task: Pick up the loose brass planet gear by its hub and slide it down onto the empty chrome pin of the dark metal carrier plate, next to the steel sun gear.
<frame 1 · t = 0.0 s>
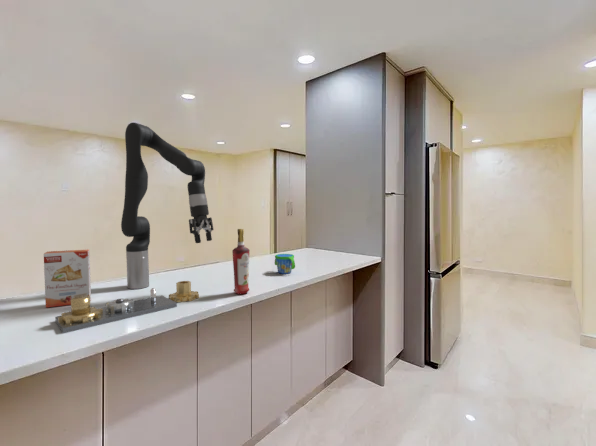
hand: (203, 241, 138), 22 cm above the table, tool pointing down, fingers open, 8 cm apart
snack cup: (284, 273, 179), on the table
cracker box: (69, 304, 124), on the table
liquor: (241, 293, 138), on the table
carrier plate: (120, 313, 112), on the table
planet gear: (184, 297, 131), on the table
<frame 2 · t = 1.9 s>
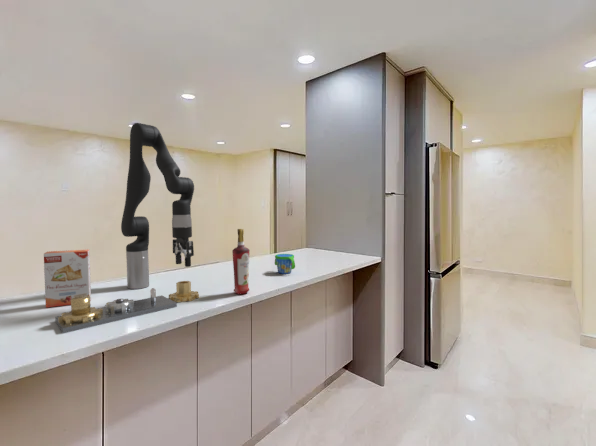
hand: (183, 265, 130), 14 cm above the table, tool pointing down, fingers open, 8 cm apart
nothing on the table moved.
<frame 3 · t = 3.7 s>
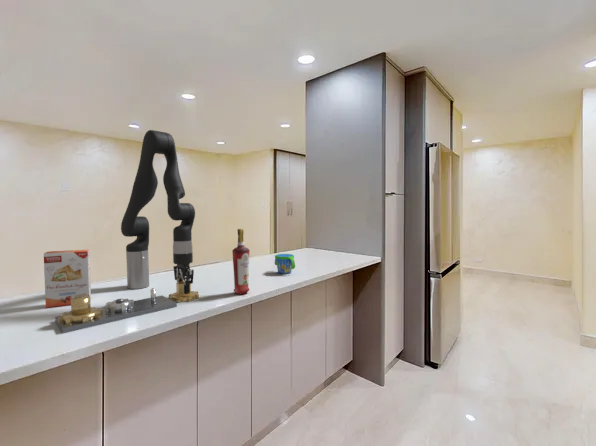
hand: (183, 292, 131), 2 cm above the table, tool pointing down, fingers closed on planet gear, 5 cm apart
planet gear: (184, 297, 131), on the table, touching gripper
everything else where it was.
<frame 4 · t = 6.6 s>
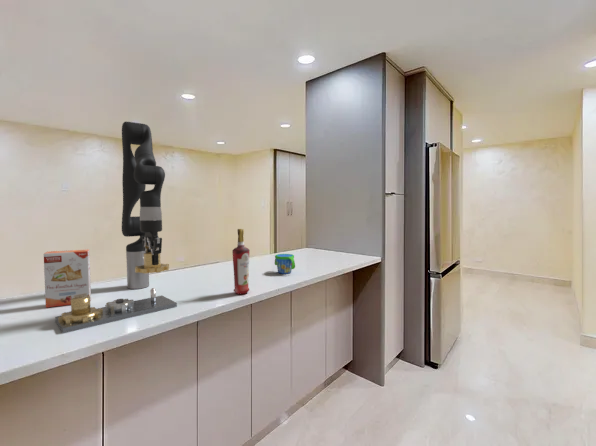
hand: (152, 263, 119), 16 cm above the table, tool pointing down, fingers closed on planet gear, 5 cm apart
planet gear: (152, 270, 119), point 14 cm above the table, touching gripper
everything else where it was.
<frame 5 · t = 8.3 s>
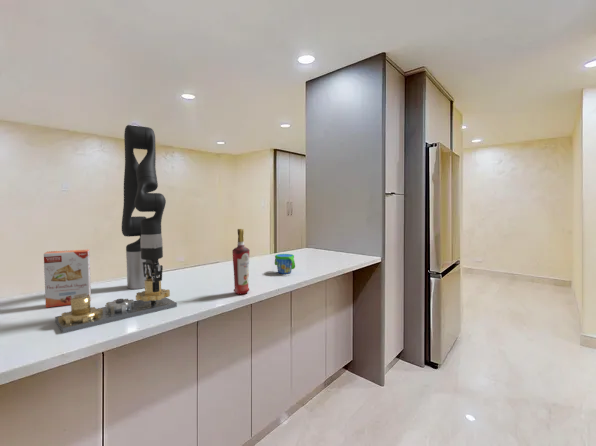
hand: (153, 290, 120), 6 cm above the table, tool pointing down, fingers closed on planet gear, 5 cm apart
planet gear: (153, 296, 120), point 4 cm above the table, touching gripper
everything else where it was.
when the fingers open (5 cm above the table, at t = 9.4 s): planet gear stays where it is, resting on carrier plate.
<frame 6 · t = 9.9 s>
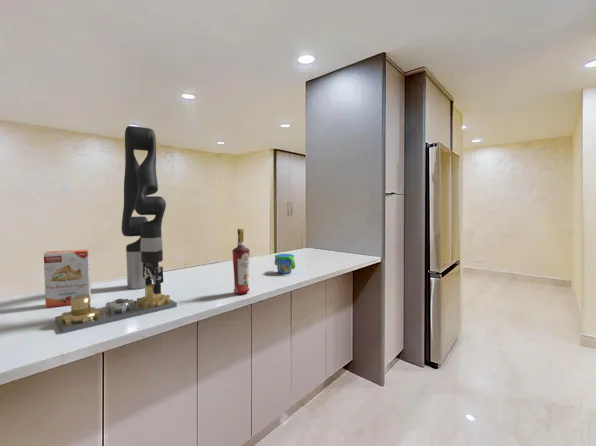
hand: (153, 291, 120), 6 cm above the table, tool pointing down, fingers open, 8 cm apart
planet gear: (153, 302, 120), point 1 cm above the table, touching carrier plate
everything else where it was.
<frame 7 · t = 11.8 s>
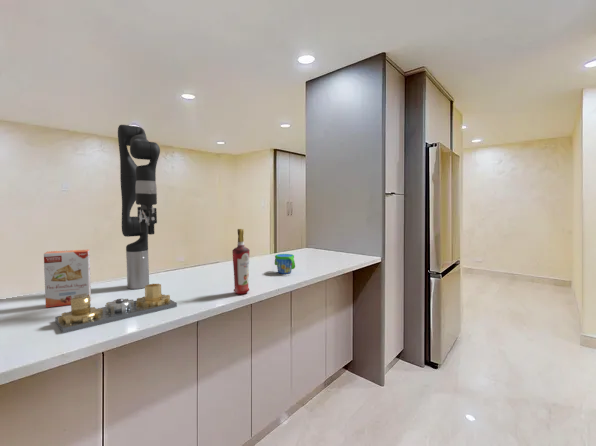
hand: (147, 233, 126), 27 cm above the table, tool pointing down, fingers open, 8 cm apart
nothing on the table moved.
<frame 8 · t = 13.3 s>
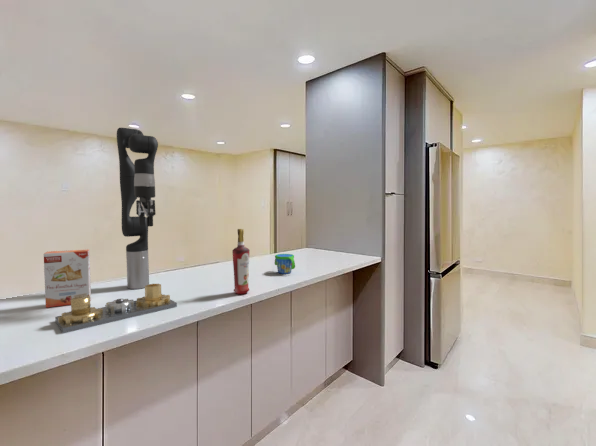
hand: (146, 225, 128), 30 cm above the table, tool pointing down, fingers open, 8 cm apart
nothing on the table moved.
at the end: planet gear 0.1 cm from the target spot on the carrier plate, point 1.5 cm above the carrier plate's base; planet gear tilted 0°; the gripper is holding nothing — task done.
